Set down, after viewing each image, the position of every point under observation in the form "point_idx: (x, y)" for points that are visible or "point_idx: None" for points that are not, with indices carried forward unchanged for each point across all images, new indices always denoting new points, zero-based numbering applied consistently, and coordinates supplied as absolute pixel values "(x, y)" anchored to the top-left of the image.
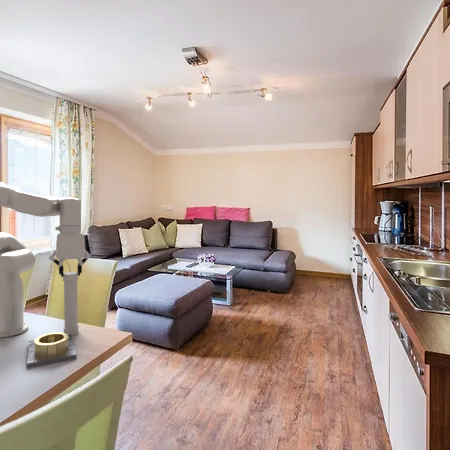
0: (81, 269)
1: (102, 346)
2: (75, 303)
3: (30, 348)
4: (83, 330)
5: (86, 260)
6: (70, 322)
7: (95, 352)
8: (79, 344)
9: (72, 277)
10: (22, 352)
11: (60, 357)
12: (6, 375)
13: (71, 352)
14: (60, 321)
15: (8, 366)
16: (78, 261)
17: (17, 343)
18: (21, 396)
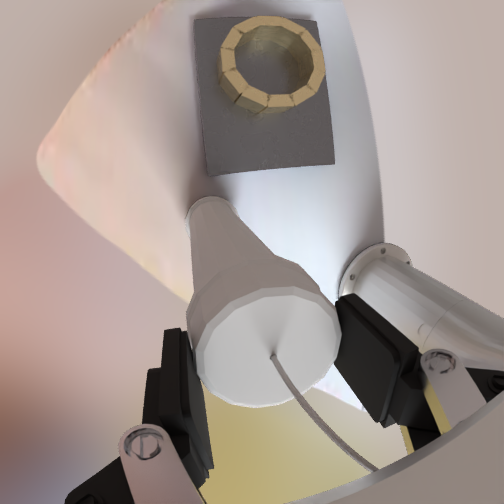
0: (149, 392)
1: (112, 81)
2: (200, 230)
3: (324, 105)
4: (171, 234)
5: (70, 493)
6: (216, 205)
7: (137, 46)
8: (180, 113)
9: (244, 274)
10: (337, 119)
11: (236, 17)
12: (345, 19)
13: (206, 33)
14: None
15: (352, 56)
16: (191, 481)
17: (356, 189)
18: None
